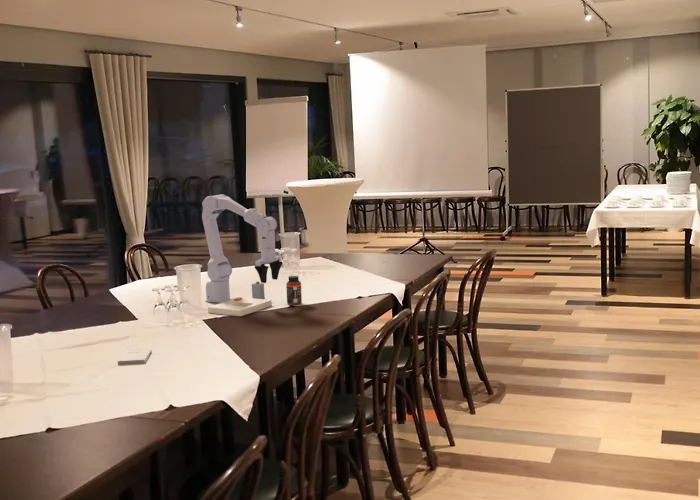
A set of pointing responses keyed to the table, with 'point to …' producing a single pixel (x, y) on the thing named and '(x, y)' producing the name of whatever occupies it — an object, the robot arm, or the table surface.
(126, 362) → the external hard drive
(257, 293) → the plug
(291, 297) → the supplement bottle
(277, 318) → the table surface
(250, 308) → the socket plate
